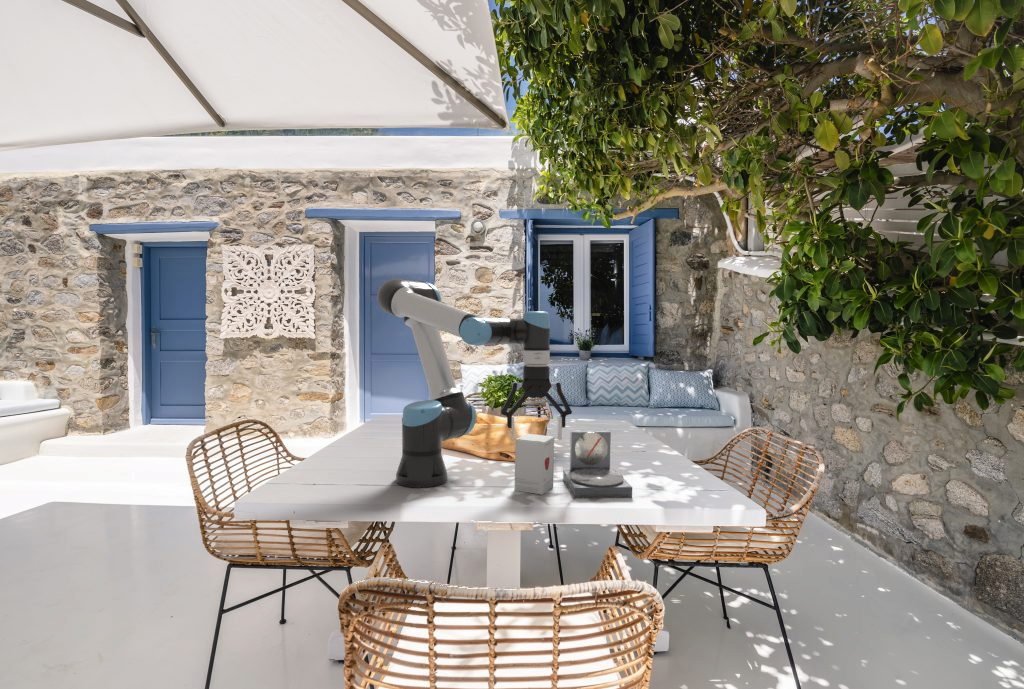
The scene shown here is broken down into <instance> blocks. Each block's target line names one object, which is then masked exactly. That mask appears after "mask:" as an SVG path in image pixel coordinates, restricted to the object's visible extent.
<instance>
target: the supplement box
mask: <svg viewBox="0 0 1024 689" xmlns="http://www.w3.org/2000/svg"><path fill="white" fill-rule="evenodd" d="M514 447H515V450H514V451H515V452H514V453H515V454H514V456H515V458H514V491H517V492H523V493H528V494H529V493H530V494H536V495H541V496H543V495H545V493H547V492H548V491H551V489H552V488H553V487H554V476H555V474H554V473H555V472H554V470H555V468H554V467H555V465H554V464H555V436H552V435H543V434H533V433H526V434H524V435H521V436H520V437H517V438H516V439H515V446H514Z"/></svg>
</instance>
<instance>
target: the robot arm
mask: <svg viewBox="0 0 1024 689" xmlns="http://www.w3.org/2000/svg"><path fill="white" fill-rule="evenodd" d="M376 295H377V303H378V305H379V307H380V308H381V309H382V311H383V312H385V313H387V314H389V315H392V316H394V317H397V318H403V321H404V324H405V326H408V327H409V328H410V330H411V332H412V335H413V339H414V341H415V345H416V349H417V352H418V356H419V359H420V364H421V365H422V366H421V367H422V370H423V373H424V376H425V380H426V382H427V386H428V391H429V393H430V394H429V395H430V398H429V399H423V400H418V401H414V402H411V403H407V405H405V406H404V408H403V410H402V418H401V423H402V425H401V427H402V428H401V432H402V433H401V435H402V436H401V437H402V439H401V440H402V441H401V442H402V443H401V445H402V446H401V447H402V452H401V453H402V454H401V458H400V461H399V465H398V467H397V470H396V474H395V482H396V484H398V485H400V486H402V487H407V488H418V489H419V488H431V487H436V486H439V485H442V484H445V483H446V482H448V470H447V468H446V465H445V462H444V459H443V455H442V454H443V453H442V444H443V442H444V441H448V440H453V439H457V438H461V437H463V436H466V435H468V434H469V433H471V432H472V431H473V429H474V426H475V425H476V422H477V411H476V407H475V406H474V404H473V403H472V402H470V401H469V400H467V399H466V398H465V395H464V392H463V391H462V390H460V389H458V388H457V385H456V381H455V379H454V376H453V371H452V368H451V364H450V361H449V359H448V355H447V352H446V349H445V346H444V341H443V339H442V335H441V331H443V332H445V333H448V334H451V335H453V336H456V337H458V338H461V339H462V341H463V342H464V343H466V344H467V345H471V346H472V345H473V346H485V345H487V346H490V345H522V346H523V356H522V358H523V359H522V360H523V364H524V365H525V366H523V367H522V368H523V374H522V375H523V380H522V382H516V381H513V382H512V383H511V384H512V385H511V390H510V392H509V394H508V396H507V397H506V400H505V402H504V404H503V406H502V408H501V410H500V413H501V415H502V416H505V417H507V418H506V426H507V428H508V429H510V439H511V441H515V416H514V414H515V413H516V412H517V410H519V408H520V407H521V406H522V405H523V403H524V402H526V400H527V399H528V398H531V399H536V398H537V399H538V398H539V399H543V398H544V397H545V398H546V399H547V400H548V402H549V403H550V404H551V405H552V407H554V409H555V410H556V411H557V412H558V413H559V415H557V439H558V440H559V441H560V440H561V441H562V439H563V435H562V434H563V433H562V432H563V431H562V429H563V428H566V417H567V416H568V415H572V414H573V411H572V409H571V407H570V405H569V403H568V401H567V399H566V397H565V395H564V393H563V390H562V384H561V382H559V381H555V382H551V381H550V380H551V379H550V377H551V375H550V371H551V370H550V369H551V368H550V366H549V365H550V363H551V360H550V358H551V357H550V356H551V355H550V351H551V350H550V337H551V336H550V334H551V333H550V332H551V320H550V319H551V318H550V314H549V312H547V311H542V310H540V311H539V310H537V311H534V310H531V311H525V312H523V316H522V318H500V317H499V318H498V317H497V318H496V317H495V318H494V317H484V316H480V315H477V314H475V313H472V312H469V311H466V310H464V309H460V308H459V307H458V308H457V307H455V306H453V305H449V304H447V303H444V302H442V297H441V293H440V291H439V289H438V288H437V287H436V286H435V285H434V284H432V283H430V282H426V281H424V280H411V279H402V278H392V279H389V280H387V281H385V282H383V283H382V284H381V285H380V287H379V288H378V291H377V294H376ZM521 388H522V390H523V391H524V392H523V393H522V394H521V396H520V397H519V398H518V400H517V401H516V402H515V403H514V404H513V405H512V406H511V404H512V401H513V400H514V398H515V396H516V393H517V391H519V390H520V389H521ZM551 388H553V390H554V391H555V392H556V393H557V396H558V398H559V400H560V402H561V404H562V405H563V408H564V410H563V409H562V407H561V406H560V405H559V404H558V402H557V401H556V400H555V399H554V398H553V397H552V396H551V394H550V393H549V391H550V390H551ZM510 406H511V407H510ZM509 407H510V409H509Z"/></svg>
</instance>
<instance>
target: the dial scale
mask: <svg viewBox="0 0 1024 689" xmlns="http://www.w3.org/2000/svg"><path fill="white" fill-rule="evenodd" d="M611 434H612V433H611V431H610V430H570V437H569V438H570V440H569V441H570V442H569V443H570V444H569V445H570V446H569V469H563V471H562V474H563V475H562V476H563V477H562V479H563V480H562V481H563V482H564V483H565V485H566V487H567V489H568V490H569V492H570V493H571V495H572V496H573V498H574V499H579V500H580V499H632V498H633V486H632V485H631V484H630V483H629V482H628V481H627V480H626V479H625V477H624V475H622V474H621V473H619V472H618V471H617V470H616V469H611Z"/></svg>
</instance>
